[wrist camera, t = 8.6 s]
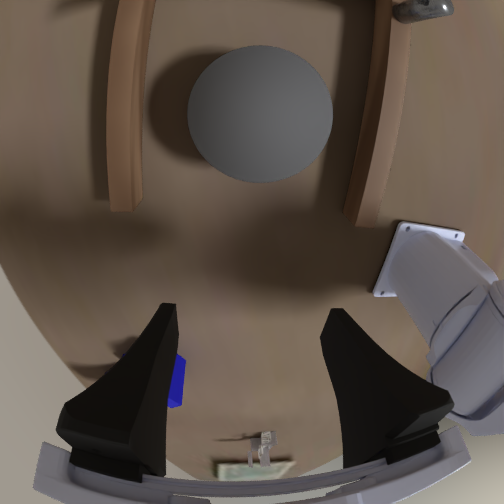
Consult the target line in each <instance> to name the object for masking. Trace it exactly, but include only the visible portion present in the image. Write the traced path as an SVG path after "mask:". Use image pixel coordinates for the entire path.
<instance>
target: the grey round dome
mask: <svg viewBox="0 0 504 504" xmlns="http://www.w3.org/2000/svg"><path fill="white" fill-rule="evenodd" d="M187 119H188V127H189V130H190V134H191V137H192V139H193V142H194V144H195V146H196V147H197V149H198V151H199V152H200V153H201V155H202V156H203V157H204V158H205V159H206V160H207V161H208V162H209V163H210V164H211V165H212V166H213V167H215V168H216V169H217V170H219V171H220V172H222V173H224V174H226V175H228V176H230V177H232V178H235V179H238V180H242V181H246V182H253V183H266V182H274V181H279V180H282V179H285V178H288V177H291V176H293V175H295V174H297V173H299V172H300V171H302V170H303V169H305V168H306V167H307V166H308V165H310V164H311V163H312V162H313V161H314V160H315V159H316V158H317V157H318V155H319V154H320V153H321V151H322V150H323V148H324V146H325V144H326V143H327V140H328V138H329V135H330V132H331V128H332V121H333V107H332V101H331V97H330V94H329V91H328V89H327V86H326V84H325V82H324V81H323V79H322V78H321V76H320V75H319V73H318V72H317V71H316V70H315V69H314V68H313V67H312V66H311V65H310V64H309V63H308V62H307V61H305V60H304V59H302V58H301V57H299V56H298V55H296V54H294V53H292V52H290V51H287V50H284V49H281V48H277V47H272V46H248V47H243V48H239V49H236V50H233V51H230V52H228V53H226V54H224V55H222V56H221V57H219V58H218V59H216V60H215V61H213V62H212V63H211V64H210V65H209V66H208V67H207V68H206V69H205V70H204V71H203V72H202V73H201V75H200V76H199V78H198V79H197V81H196V82H195V85H194V87H193V89H192V91H191V94H190V98H189V102H188V109H187Z"/></svg>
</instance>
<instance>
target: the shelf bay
mask: <svg viewBox="0 0 504 504" xmlns="http://www.w3.org/2000/svg"><path fill="white" fill-rule="evenodd" d="M403 1H406V0H376V1H375V19H374V33H373V44H372V54H371V63H370V71H369V79H368V86H367V93H366V100H365V106H364V112H363V118H362V124H361V129H360V135H359V140H358V145H357V150H356V155H355V160H354V165H353V170H352V174H351V179H350V183H349V187H348V192H347V196H346V200H345V204H344V208H343V213H344V215H345V216H346V217H347V218H348V219H349V220H350V221H351V223H352V224H353V225H354V226H355V227H363V228H373V229H374V226H375V223H376V219H377V216H378V213H379V209H380V206H381V202H382V198H383V195H384V191H385V187H386V184H387V180H388V176H389V172H390V167H391V163H392V159H393V154H394V150H395V145H396V141H397V136H398V130H399V125H400V120H401V114H402V108H403V102H404V95H405V88H406V81H407V72H408V63H409V52H410V38H411V23H410V24H402V23H400V22H399V21H398V20H397V19H396V18H395V17H394V15H393V13H392V7H393V6H394V5H395V4H398V3H400V2H403ZM155 2H156V0H119V5H118V10H117V15H116V20H115V26H114V33H113V39H112V47H111V55H110V64H109V75H108V89H107V113H106V146H107V171H108V186H109V198H110V208H111V212H133V211H134V210H135V208H136V207H137V206H138V204H139V203H140V202H141V200H142V199H143V189H142V118H143V98H144V83H145V72H146V62H147V53H148V45H149V38H150V31H151V24H152V18H153V12H154V7H155Z"/></svg>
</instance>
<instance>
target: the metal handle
mask: <svg viewBox="0 0 504 504" xmlns="http://www.w3.org/2000/svg"><path fill="white" fill-rule="evenodd" d="M453 12H454V8H453V4H452V2H451V0H406V1H403V2H400V3H398V4H395V5H394V6H393V7H392V13H393V15H394V17H395V18H396V19H397V20H398V21H399V22H400V23H402V24H410V23H414V22H418V21H422V20H427V19H432V18H437V17H442V16H448V15H452V14H453Z"/></svg>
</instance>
